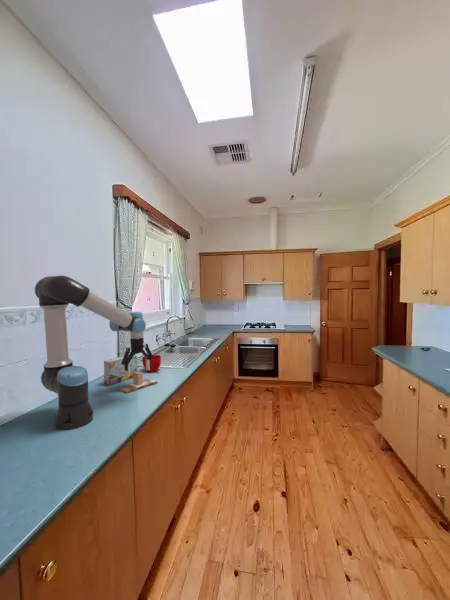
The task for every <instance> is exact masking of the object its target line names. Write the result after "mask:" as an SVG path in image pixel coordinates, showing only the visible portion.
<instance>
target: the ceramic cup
mask: <svg viewBox="0 0 450 600" xmlns="http://www.w3.org/2000/svg"><path fill="white" fill-rule="evenodd" d="M152 355H153V358H151V360H150V370H146V359H147V358H146V357H145V356H144V355H143V356H142V358H141V359H142V366H143V368H144V370H145V371H147V373H155V372H157V370H158V369H159V368H160V367H161V364H162V363H161V362H162V356H161V355H159V354H152Z"/></svg>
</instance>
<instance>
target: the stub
mask: <svg viewBox="0 0 450 600" xmlns="http://www.w3.org/2000/svg"><path fill="white" fill-rule="evenodd" d="M132 379H133V383H129V384H128V385H131V386H134V387H137V388H138V387H141V386H144V385H147V384H145V383H143V380H144V378H143V372H141V371H138V370H137V372H133V378H132Z"/></svg>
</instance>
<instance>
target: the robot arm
mask: <svg viewBox="0 0 450 600" xmlns="http://www.w3.org/2000/svg"><path fill="white" fill-rule="evenodd" d="M34 294H35V296H36V297H37V299H38V306H39V307H40V309H42V310H43V316H44V319H43V320H44V331H45V347H46V362H45V363H44V364H43V372H42V373H41V375H40V382H41V384H42V386H43V387H44V388H45V389H46V390H48V391H50V392H53V393H55V394H57V397H58V398H57V399H58V400H57V402H58V408H57V410H56V414H55V417H54V420H53V421H54V422H53V424H54V428H55V429H57V430H63V431H64V430H72V429H77V428H81V427H83V426H85V425H87V424H89V423H90V422H92V420H93V419H94V412H93V408H92V406H91V403H90V401H89V375H88V370H87V368H85V367H84V366H79V365H74V362H73V360H72V359H70V357H69V356H70V355H69V344H68V328H67V311H66V308H68V306H69V304H70V305H72V306H75V307H82V308H84V309H86V310H88V311H90V312H93V313H94V314H96V315H99V316H100V317H102V318H104V319H106V320H108V321H109V324H108V325H109V329H110V330H111V331H112V332H119V331H121V332H122V331H123V332H129V336H130V347H125V352H124V353H123V354H124V355H123V356H124V357H123V360H122V362H121V364H122V365H125V371H126V376H130V365H128V364H129V362H130V361H131V359H132V358H133V356H134V355H137V354H142V355H143V357H144V356H145V357H146V358H147V359H146V369H145V371H146V370H150V360H151V358H153V355H154V354H153V353H152V351H151V349H150V347H149V344H148V343H145V341H144V339H145V337H144V331H145V329H146V326H147V323H146V321H145V320H144V317H143V312H142V311H132V312H129V313H128V312H127V311H125V310H123V309H121V308H119V307H118V306H116V305H114V304H112V303H110V301H107V300H105V299H103V298H102V297H100V296H99V295H97V294H95V293H93V292H91V290H90V288H89V287H87V286H85V285H84V284H82V283H80V282H79V281H78V280H77V281H76V280H75V279H74V278H72V277H70V276H66V275H51V276H45V277H43V278H40V279H39V280H38V281H37V282H36V284H35V286H34ZM144 349H145V350H144Z"/></svg>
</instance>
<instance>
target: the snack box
mask: <svg viewBox="0 0 450 600" xmlns="http://www.w3.org/2000/svg"><path fill="white" fill-rule="evenodd" d="M123 357H124V355H123V356H122V355H121V356H118V357H115V358H110V359H107V360H103V384H104V385H105V386H107V387H110V386H113V385H116V384H118V383H122V382H125V381H128V380H131V379H133V372H137V371H138V361H137V360H138V355H137V354H135V355H134V356H133V358H132V359H131V361H130V362H129V364H128V365H130V376H126V371H125V365H122V364H121V362H122V360H123Z"/></svg>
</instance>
